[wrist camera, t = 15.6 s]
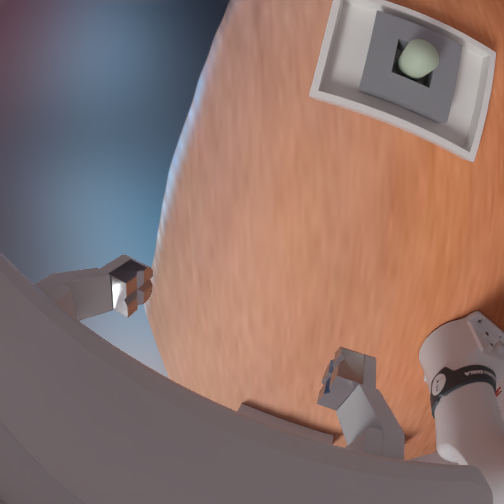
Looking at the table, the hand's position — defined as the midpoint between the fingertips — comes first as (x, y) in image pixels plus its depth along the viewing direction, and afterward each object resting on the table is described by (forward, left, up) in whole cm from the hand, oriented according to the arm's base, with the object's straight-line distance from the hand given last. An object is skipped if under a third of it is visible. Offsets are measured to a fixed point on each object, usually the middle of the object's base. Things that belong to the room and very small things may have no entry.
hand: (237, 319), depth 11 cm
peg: (-7, -20, -33) cm, 39 cm away
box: (-7, -20, -34) cm, 40 cm away
